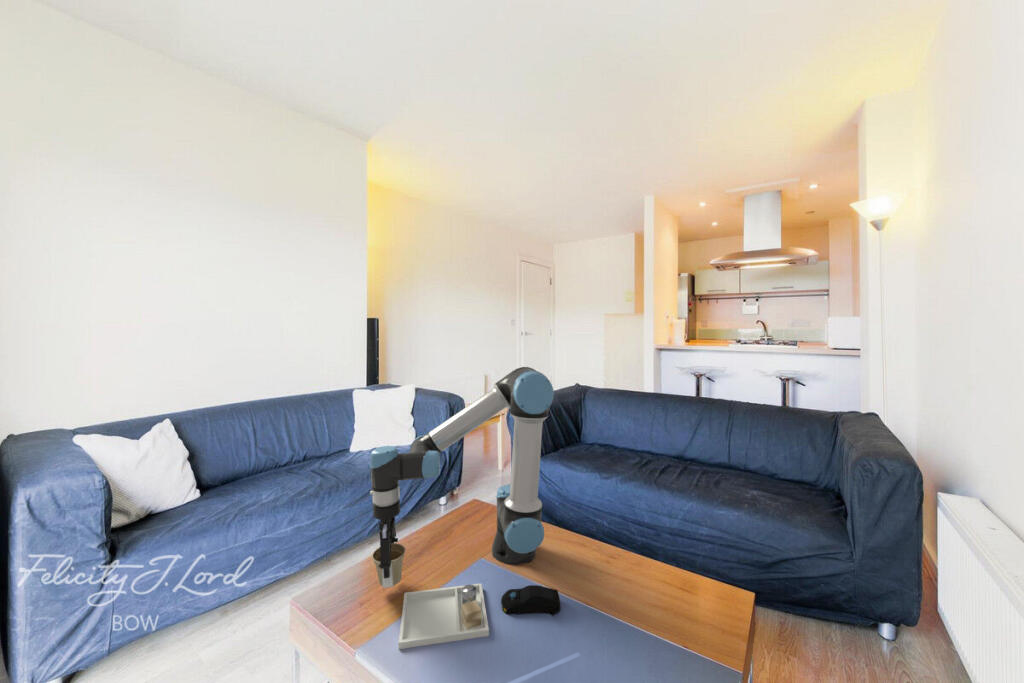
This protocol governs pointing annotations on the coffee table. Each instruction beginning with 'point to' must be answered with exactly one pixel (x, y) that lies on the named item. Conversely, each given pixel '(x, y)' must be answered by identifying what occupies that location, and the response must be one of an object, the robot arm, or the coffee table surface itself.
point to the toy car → (531, 600)
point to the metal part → (468, 593)
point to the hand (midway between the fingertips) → (389, 575)
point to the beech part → (471, 614)
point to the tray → (438, 617)
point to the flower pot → (396, 561)
